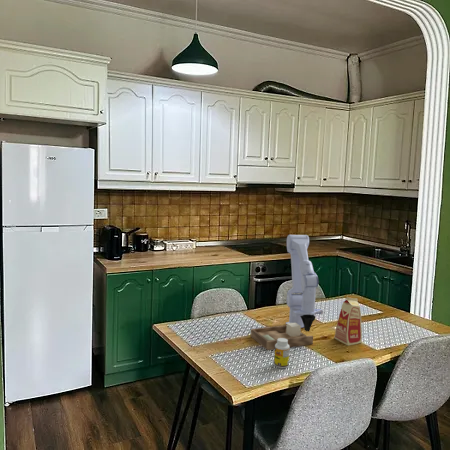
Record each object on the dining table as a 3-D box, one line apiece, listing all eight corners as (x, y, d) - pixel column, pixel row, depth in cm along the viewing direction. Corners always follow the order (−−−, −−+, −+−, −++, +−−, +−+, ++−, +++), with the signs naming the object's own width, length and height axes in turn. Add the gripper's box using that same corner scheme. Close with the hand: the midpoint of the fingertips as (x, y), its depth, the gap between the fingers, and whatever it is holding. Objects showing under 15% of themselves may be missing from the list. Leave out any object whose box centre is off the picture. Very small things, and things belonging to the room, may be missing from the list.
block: (294, 332, 197) (295, 322, 196) (300, 335, 193) (300, 325, 192) (286, 333, 195) (286, 323, 195) (291, 336, 191) (291, 326, 191)
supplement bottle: (271, 363, 167) (272, 338, 166) (283, 361, 169) (284, 336, 168) (278, 369, 162) (280, 343, 161) (291, 367, 164) (292, 341, 163)
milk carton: (347, 345, 188) (350, 300, 186) (333, 338, 197) (336, 294, 194) (363, 342, 193) (366, 298, 191) (348, 335, 201) (351, 292, 199)
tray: (293, 331, 203) (293, 324, 203) (312, 344, 189) (313, 336, 188) (250, 336, 195) (250, 329, 195) (267, 350, 180) (267, 342, 180)
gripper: (299, 304, 189) (297, 335, 190) (327, 302, 194) (325, 331, 196) (290, 300, 195) (289, 330, 197) (318, 298, 201) (316, 326, 202)
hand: (306, 330), depth 197 cm, fingers closed
